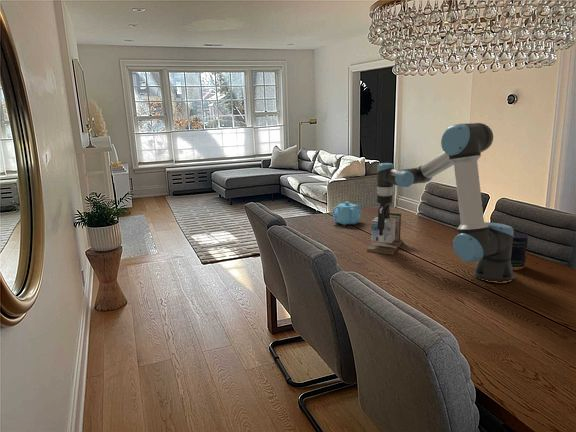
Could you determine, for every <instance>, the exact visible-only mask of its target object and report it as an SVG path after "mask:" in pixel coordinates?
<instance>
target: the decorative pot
mask: <svg viewBox="0 0 576 432" xmlns="http://www.w3.org/2000/svg"><path fill="white" fill-rule="evenodd" d="M361 210H362V207H361V205H360V204H354V203H351V202H350V201H344V203H343V202H342V203H341V202H340V203H338V204H337V206H334V207H333V209H332V213H333V216H332V218H331V219H332V221H336V223H338V224H341V225H342V226H347V225H356V224H358V223H359V222H360V219H361V217H362V214H361Z"/></svg>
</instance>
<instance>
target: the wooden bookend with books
mask: <svg viewBox="0 0 576 432" xmlns="http://www.w3.org/2000/svg"><path fill="white" fill-rule="evenodd" d="M390 219H395V220H396V225H395V240H394V241H393V242H392V243H385V242H378V241H373V242H372V243H371V244H370V245H369V246H368V247H367V248H366V252H370V253H379V254H385V255H392V256H393V255H394V254H395V252H396V251H398V249H399V248H400V246H401V245H402V244H403V242H404V239H402V238H401V231H402V230H401V228H402V227H401V226H402V224H401V223H402V213H396V212H390Z"/></svg>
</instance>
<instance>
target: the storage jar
mask: <svg viewBox="0 0 576 432" xmlns="http://www.w3.org/2000/svg"><path fill="white" fill-rule="evenodd" d="M513 235H514V237H513V244H512V253H511V265H512V267H523V266H524V267H525V265H526V259H527V256H526V253H527V248H528V243H529V241H528V240H529V235H528V234H527V233H524V232H520V231H514V233H513Z"/></svg>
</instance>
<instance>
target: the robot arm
mask: <svg viewBox="0 0 576 432" xmlns="http://www.w3.org/2000/svg"><path fill="white" fill-rule="evenodd" d="M493 142H494V133H493V130H492V129H491V128H490V126H488V125H487V124H485V123H481V122H473V123H471V122H470V123H458V124H453V125H450V126H448V127H447V128H446V129H445V131H444V132H443V133H442V136H441V139H440V145H441V149H442V152H440V153H439V154H437V155H435V156H433V157H432V158H430V159H429V160H427V161H426V162H424V163H422V164H421V165H419V166H418V167H413V168H412V167H411V168H406V169H405V168H403V169H396V168H395V167H394V164H393V163H391V162H381V163H379V164H378V165H377V176H376V177H377V180H376V181H377V182H376V184H377V185H376V187H375V190H376V191H377V192H376V193H377V195H376V202H377V204H380V206H379V208H378V209H377V213H378V214H377V218H378V227H377V229H379V234H378V241H380V242H384V223H385V219H390V213H391V212H390V210H391V209H390V208H391V204H392V203H393V193H394V186H396V187H401V188H409V187H410V186H411V185H417V184H426V183H428V182H430V181H431V180H432V179H433V178H434V177H435V176H437V175H438V174H441V173H442V172H444V171H446V170H447V169H450V168H451V167H454V176H455V185H456V193H457V194H456V195H457V203H458V212H459V219H460V224H459V225H458V227H457V228H456V230H457V235H455V237H454V238H453V240H452V247H453V248H452V249H453V251H454V253H455V254H456V256H457V257H459V258H460V260H462V261H463V262H468V263H470V262H471V263H472V262H477V263H476V266H475V267H474V271H473V275H475V276H476V277H478V278H480V279H484V280H488V281H497V282H503V281H509V280H512V279H513V280H514V278H515V275H514V270H513V269H512V265H511V253H512V244H513V237H514V235H513V233H514V232H515V231H514V228H513V227H512V226H510V225H507V224H504V223H499V222H485V219H484V218H485V217H484V209H483V199H482V192H481V183H480V176H479V175H480V174H479V167H478V166H479V164H478V161H479V159H480V158H481V157H482V155H481V154H482V153H484V152H485V151H487V150H488V149H489V148H490V147H491V146H492V144H493ZM475 276H474V277H475ZM476 277H475V278H476Z"/></svg>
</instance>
